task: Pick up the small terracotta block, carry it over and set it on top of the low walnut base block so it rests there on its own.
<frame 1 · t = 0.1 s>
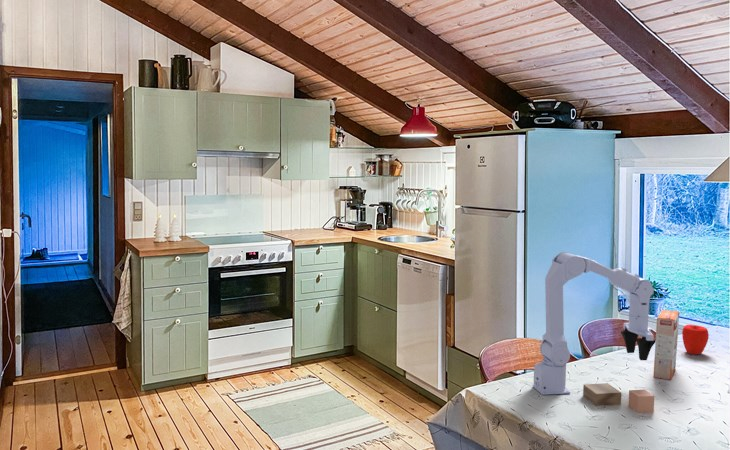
hand: (636, 356, 202), 10 cm above the table, tool pointing down, fingers open, 7 cm apart
terracotta block: (640, 409, 184), on the table
walnut base: (601, 401, 191), on the table
apple: (694, 353, 238), on the table
cracker box: (665, 374, 215), on the table
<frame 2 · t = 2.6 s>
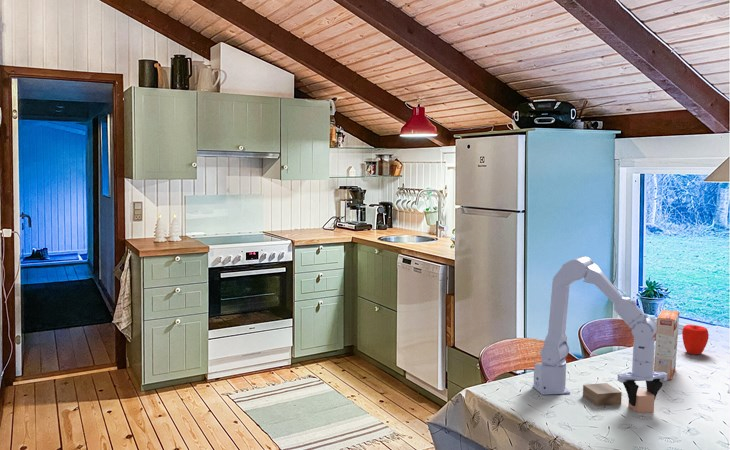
hand: (641, 404, 184), 1 cm above the table, tool pointing down, fingers closed on terracotta block, 5 cm apart
terracotta block: (640, 409, 184), on the table, touching gripper
everything else where it was.
when the fingers open (6 cm above the table, at t = 6.0 s): terracotta block drops 1 cm, resting on walnut base.
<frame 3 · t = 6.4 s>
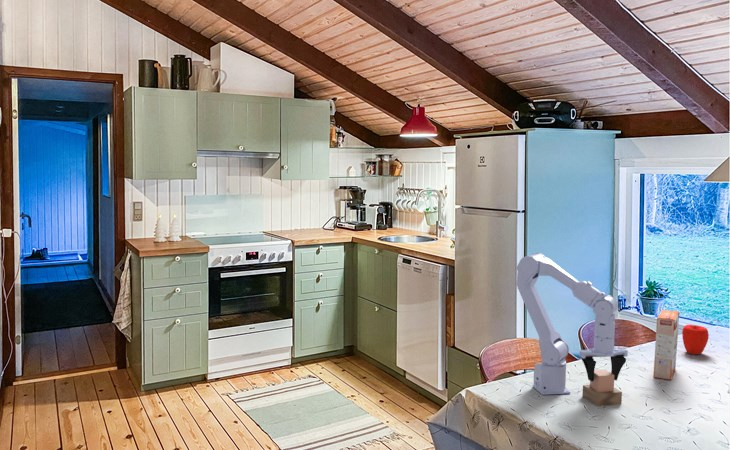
hand: (602, 379, 191), 6 cm above the table, tool pointing down, fingers open, 7 cm apart
terracotta block: (601, 388, 191), point 4 cm above the table, touching walnut base
walnut base: (601, 401, 191), on the table, touching terracotta block
everything else where it was.
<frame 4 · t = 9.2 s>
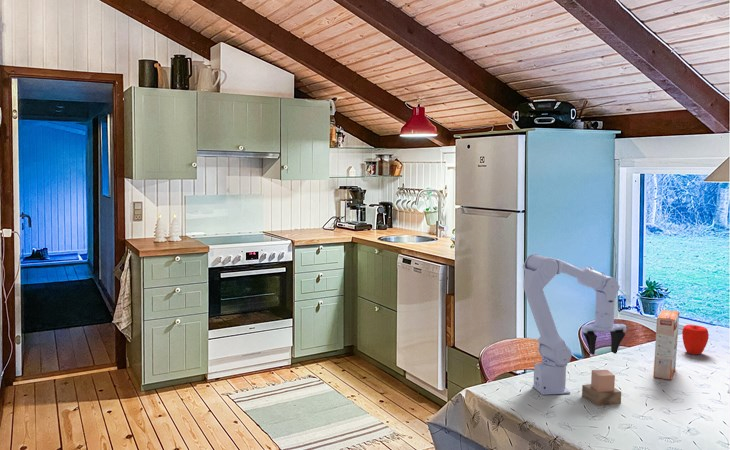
hand: (602, 353, 204), 10 cm above the table, tool pointing down, fingers open, 7 cm apart
nothing on the table moved.
at the end: terracotta block 0.3 cm off-centre on the walnut base, point 4.0 cm above the walnut base's base; terracotta block tilted 1°; the gripper is holding nothing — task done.
